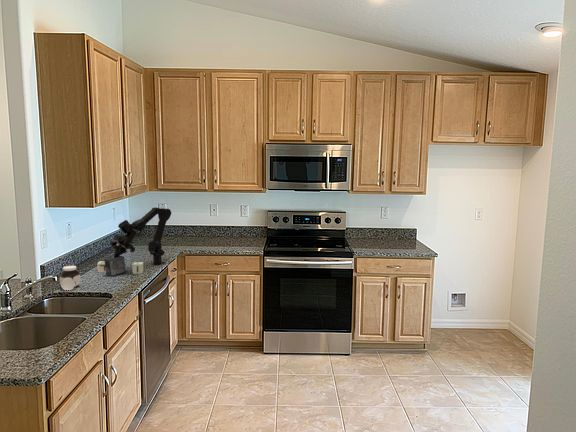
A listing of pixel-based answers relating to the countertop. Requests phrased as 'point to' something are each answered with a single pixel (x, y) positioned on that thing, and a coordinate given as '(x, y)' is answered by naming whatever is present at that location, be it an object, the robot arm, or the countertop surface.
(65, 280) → the spread jar
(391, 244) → the countertop surface
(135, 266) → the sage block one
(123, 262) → the small box
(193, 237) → the countertop surface
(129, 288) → the countertop surface
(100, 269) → the cream block seven
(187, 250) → the countertop surface
